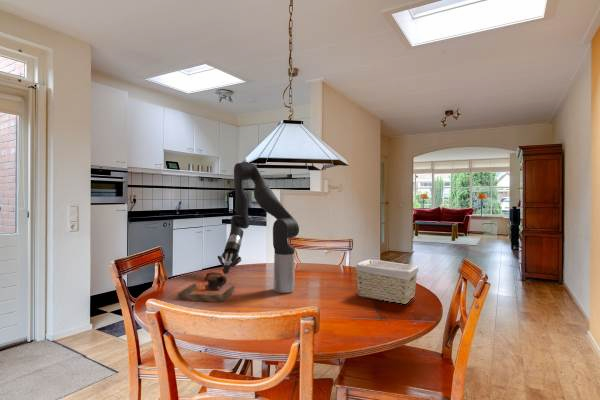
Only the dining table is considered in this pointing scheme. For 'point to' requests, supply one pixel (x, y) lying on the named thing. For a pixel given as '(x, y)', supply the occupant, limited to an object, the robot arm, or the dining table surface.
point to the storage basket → (386, 280)
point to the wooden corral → (203, 295)
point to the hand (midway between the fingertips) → (225, 273)
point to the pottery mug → (214, 281)
